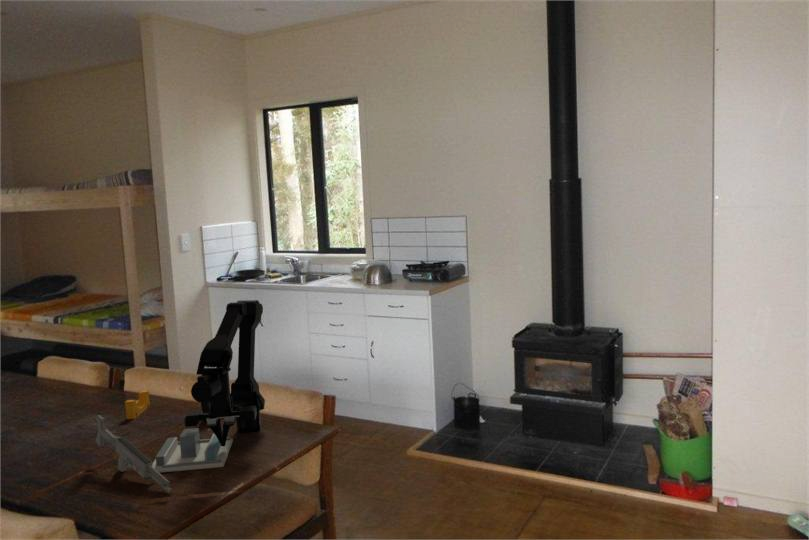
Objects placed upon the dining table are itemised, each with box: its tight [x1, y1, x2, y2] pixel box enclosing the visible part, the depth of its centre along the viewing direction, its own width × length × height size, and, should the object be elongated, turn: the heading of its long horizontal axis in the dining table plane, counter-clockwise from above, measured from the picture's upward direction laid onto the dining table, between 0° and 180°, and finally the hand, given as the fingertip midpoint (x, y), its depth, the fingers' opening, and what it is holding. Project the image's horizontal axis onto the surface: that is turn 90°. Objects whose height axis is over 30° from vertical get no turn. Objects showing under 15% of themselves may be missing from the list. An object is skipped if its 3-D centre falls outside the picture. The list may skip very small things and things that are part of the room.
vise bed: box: [152, 436, 234, 474], centre depth 180 cm, size 19×18×4 cm
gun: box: [95, 414, 172, 494], centre depth 169 cm, size 36×4×10 cm, turn 50°
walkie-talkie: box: [200, 402, 210, 423], centre depth 209 cm, size 5×3×15 cm
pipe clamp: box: [124, 390, 151, 420], centre depth 219 cm, size 12×4×6 cm, turn 178°
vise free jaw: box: [204, 433, 221, 461], centre depth 181 cm, size 2×14×2 cm, turn 7°
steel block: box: [179, 427, 201, 458], centre depth 180 cm, size 4×6×6 cm, turn 7°
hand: (223, 445), depth 181 cm, fingers closed
